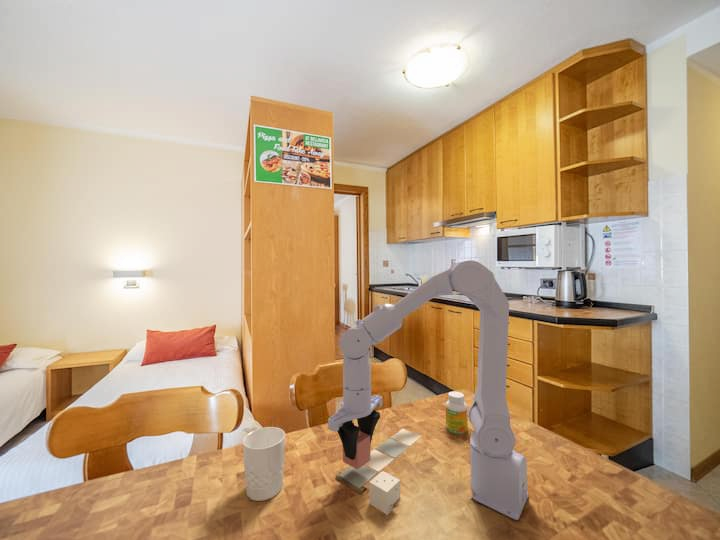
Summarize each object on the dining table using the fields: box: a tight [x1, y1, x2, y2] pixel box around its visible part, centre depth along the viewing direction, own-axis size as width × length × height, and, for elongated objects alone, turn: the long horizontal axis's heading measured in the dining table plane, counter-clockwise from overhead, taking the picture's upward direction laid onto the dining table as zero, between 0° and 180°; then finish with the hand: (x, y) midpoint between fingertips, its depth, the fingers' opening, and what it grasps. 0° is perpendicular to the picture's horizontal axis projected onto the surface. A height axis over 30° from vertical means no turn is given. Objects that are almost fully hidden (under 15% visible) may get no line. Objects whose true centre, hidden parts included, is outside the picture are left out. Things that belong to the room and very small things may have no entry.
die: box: [368, 470, 401, 516], centre depth 54 cm, size 4×4×4 cm
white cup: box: [242, 426, 286, 502], centre depth 58 cm, size 8×8×10 cm
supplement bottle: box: [445, 391, 469, 435], centre depth 78 cm, size 5×5×10 cm
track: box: [335, 428, 422, 495], centre depth 68 cm, size 7×24×1 cm, turn 139°
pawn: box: [342, 431, 371, 470], centre depth 61 cm, size 4×4×7 cm
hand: (357, 452), depth 61 cm, fingers closed on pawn, 4 cm apart
